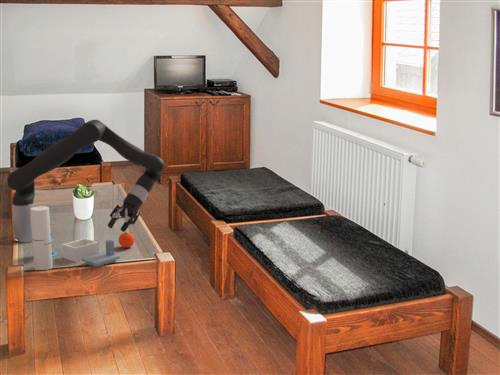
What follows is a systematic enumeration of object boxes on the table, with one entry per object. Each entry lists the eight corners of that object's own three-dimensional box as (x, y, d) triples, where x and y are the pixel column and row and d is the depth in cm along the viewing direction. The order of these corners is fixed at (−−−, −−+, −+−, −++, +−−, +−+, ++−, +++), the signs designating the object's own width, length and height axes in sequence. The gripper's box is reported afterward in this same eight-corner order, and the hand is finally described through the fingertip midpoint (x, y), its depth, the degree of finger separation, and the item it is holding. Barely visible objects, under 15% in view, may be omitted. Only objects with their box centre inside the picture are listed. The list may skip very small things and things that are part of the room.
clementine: (124, 243, 338) (123, 228, 337) (138, 245, 336) (137, 229, 335) (116, 248, 331) (115, 233, 329) (130, 250, 329) (129, 234, 327)
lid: (95, 268, 304) (94, 248, 302) (81, 263, 310) (80, 244, 308) (119, 261, 313) (119, 242, 311) (105, 257, 319) (105, 238, 317)
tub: (75, 262, 312) (75, 248, 311) (63, 257, 318) (62, 244, 317) (99, 255, 321) (98, 242, 320) (86, 251, 327) (85, 238, 326)
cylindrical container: (34, 266, 307) (30, 206, 302) (52, 264, 309) (48, 205, 304) (34, 271, 301) (30, 211, 295) (53, 269, 303) (49, 209, 297)
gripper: (120, 190, 323) (99, 221, 317) (141, 195, 313) (121, 227, 307) (130, 200, 328) (110, 230, 322) (151, 205, 318) (131, 237, 312)
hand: (115, 229), depth 315 cm, fingers open, 8 cm apart
